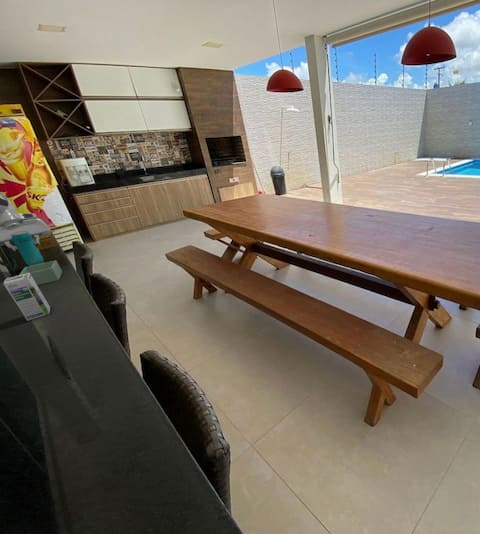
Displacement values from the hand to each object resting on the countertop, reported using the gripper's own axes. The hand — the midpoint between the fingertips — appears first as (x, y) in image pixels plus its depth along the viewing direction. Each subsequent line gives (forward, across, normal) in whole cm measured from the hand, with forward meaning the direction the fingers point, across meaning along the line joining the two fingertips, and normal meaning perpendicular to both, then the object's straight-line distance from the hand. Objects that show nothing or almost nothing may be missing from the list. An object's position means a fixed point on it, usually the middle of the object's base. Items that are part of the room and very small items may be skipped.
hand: (27, 247), depth 134 cm
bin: (+18, -2, 0) cm, 18 cm away
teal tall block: (+6, 0, +6) cm, 9 cm away
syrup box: (+43, -11, -26) cm, 51 cm away
